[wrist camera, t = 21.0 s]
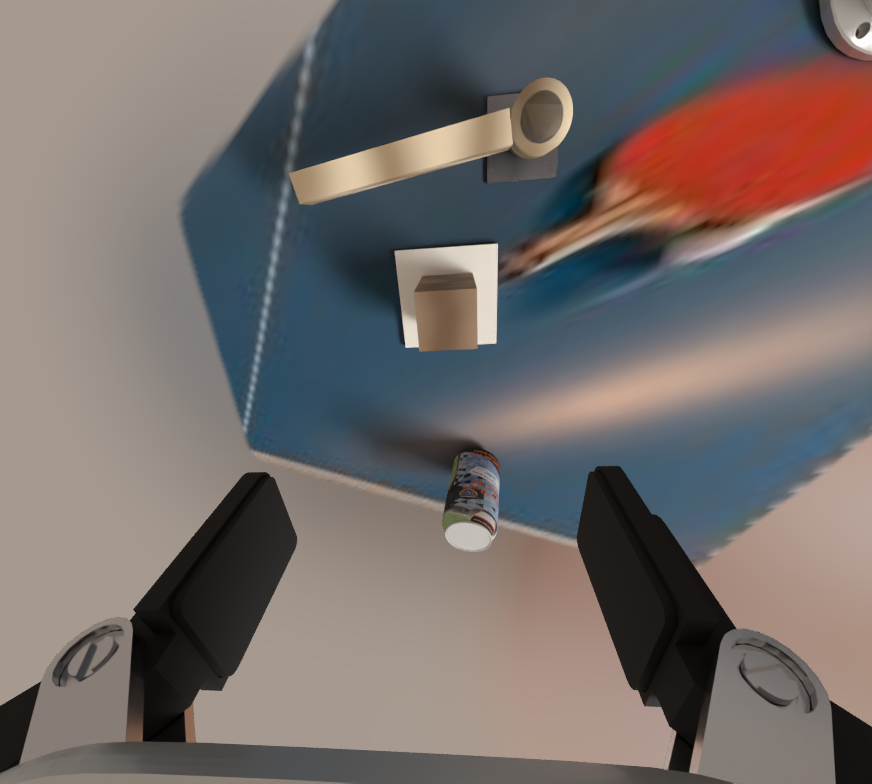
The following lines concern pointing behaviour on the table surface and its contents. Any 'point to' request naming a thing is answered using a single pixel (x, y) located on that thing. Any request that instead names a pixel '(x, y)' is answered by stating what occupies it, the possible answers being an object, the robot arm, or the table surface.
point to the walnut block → (446, 312)
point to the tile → (450, 262)
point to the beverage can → (472, 501)
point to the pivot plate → (510, 166)
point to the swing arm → (447, 146)
